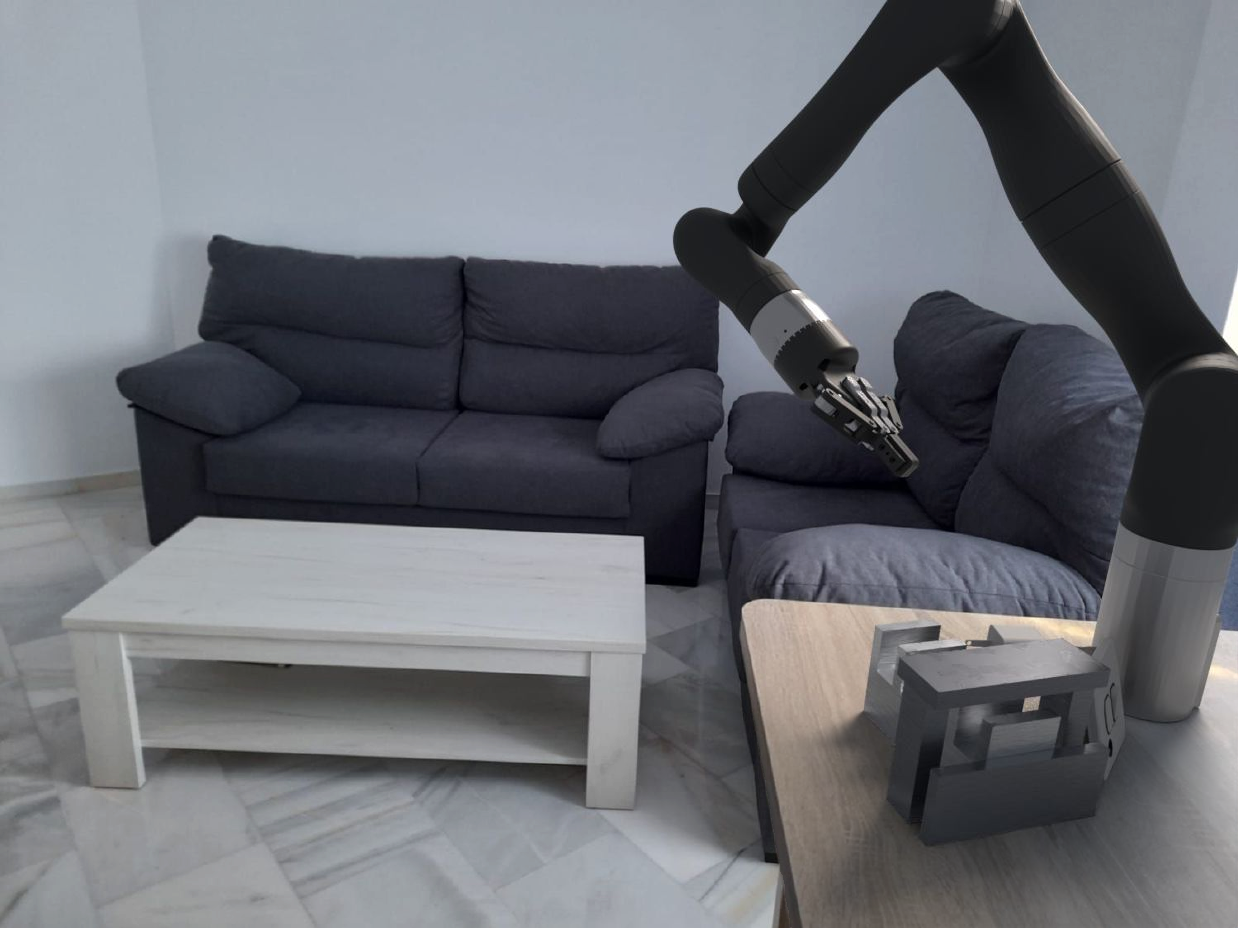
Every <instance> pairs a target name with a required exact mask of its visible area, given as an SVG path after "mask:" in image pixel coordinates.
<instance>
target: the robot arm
mask: <svg viewBox="0 0 1238 928" xmlns="http://www.w3.org/2000/svg"><path fill="white" fill-rule="evenodd" d="M1028 20H1029V19H1028V18H1027V16H1026V14H1025V11H1024V8H1023V7H1022V4H1021V3H1020V0H886V1H885V2H884V3H883V5H882V7H880V9H879V11H878V12H877V14H876V15H875V17H873V20H872V21H871V22H870V24H869V25H868V27H867V28H866V30H865V31H864V32H863V34H862V35H861V36H860V38H859V39H858V41H857V42H856V44H855V45H854V46H853V47H852V48H851V50H850V52H849V53H848V54H846V56H845V58H844V59H843V60H842V61H841V62H840V64H839V65H838V66H837V68H836V69H835V70H834V71H833V73H832V74H831V75H830V77H829V78H828V79H827V80H826V81H825V83H824V84H823V85H822V86H821V87H820V89H819V90H817V92H816V93H815V95H814V96H813V97H812V98H811V99H810V100H809V101H808V103H806V105H805V106H804V107H803V108H802V109H801V110H800V111H799V112H798V113H797V114H796V115H795V116H794V118H793V119H792V120H790V121H789V123H788V124H786V126H785V127H784V128H783V129H782V130H781V131H780V132H779V133H778V134H777V136H775V137H774V139H772V141H770V143H768V144H767V146H766V147H764V149H763V150H762V151H761V152H760V153H759V154H758V155H757V156H756V157H755V159H753V160H752V162H751V163H750V164H749V165H748V166H747V167H746V168H745V169H744V170H743V172H742V173H741V175H740V176H739V179H738V181H737V192H738V196H739V199H740V200H741V201H742V204H740V207H739V208H738V209H737V210H736V211H735V212H733V213H730V212H726V211H723V210H719V209H716V208H712V207H707V206H705V207H703V206H702V207H695V208H693V209H690V210H688V211H686V212H685V213H684V214H683V215H682V216H680V218H679V219H678V221H677V223H676V224H675V226H674V230H673V233H672V245H673V246H672V247H673V250H674V255H675V258H676V259H677V261H678V263H679V264H680V266H681V267H682V269H683V270H684V271H685V272H686V273H687V275H688V276H689V277H690V278H691V279H693V280H694V281H695V282H696V283H697V284H698V285H699V286H701V288H703V289H704V290H705V291H707V292H708V293H709V294H710V295H711V296H713V297H714V298H715V299H717V301H719V302H720V303H722V304H723V305H724V306H725V307H727V308H728V309H729V310H730V311H731V312H732V314H733V316H734V317H735V318H736V320H737V321H738V322H739V323H740V324H741V326H742V327H743V328H744V330H745V331H746V332H747V334H749V336H750V337H751V338H752V339H753V342H754V343H755V345H756V346H757V348H758V350H759V351H760V353H761V354H762V355H763V357H764V358H765V359H766V361H767V362H768V363H769V364H770V366H771V367H772V368H773V369H774V371H776V372H775V373H777V374H778V375H779V376H780V378H781V379H782V380H783V381H784V383H785V384H786V385H787V386H788V387H789V389H790V390H791V391H792V392H793V394H794V395H795V397H796V398H797V399H799V400H801V401H804V402H810V401H813V403H812V404H811V405H810V406H809V410H810V411H811V412H812V413H813V414H814V415H815V416H817V417H818V418H819V419H821V420H822V421H824V423H826V424H828V425H829V426H830V427H832V428H833V429H835V430H836V431H837V432H838V433H840V434H841V435H843V436H844V437H845V438H846V439H848V440H850V442H852V443H853V444H855V445H857V446H859V445H860V444H861V443H862V444H863V445H864V446H865V447H866V448H867V449H868V450H870V451H874V452H875V454H876V455H877V456H878V458H879V459H881V461H882V462H883V463H884V465H885V466H886V467H887V469H889V470H890V472H891V473H892V474H893V475H894V476H895V477H897V478H906V477H909V476H911V474H912V473H913V472H914V471H915V470H916V469H917V468H918V467H919V466H920V460H919V459H918V457H917V456H916V455H915V454H914V453H913V451H912V450H911V449H910V448H909V447H908V446H907V445H906V443H905V442H904V441H903V440H902V439H901V438H900V436H899V435H898V434H899V433H900V432H901V431H903V429H904V426H903V423H902V421H901V419H900V415H899V413H898V410H897V408H896V405H895V401H894V399H892V397H891V396H890V395H888V394H886V393H885V394H883V395H882V396H881V397H880V398H879V397H878V396H877V395H876V394H875V391H874V388H873V386H872V385H871V383H870V382H868V380H867V379H865V378H864V377H862V376H858V375H857V374H856V367H857V364H858V362H859V359H860V353H859V350H858V348H857V347H856V346H855V345H854V344H853V342H851V340H850V339H849V338H848V337H847V336H846V334H844V332H843V331H842V330H841V329H840V328H839V327H838V325H837V324H836V323H835V322H834V321H833V320H832V318H830V317H829V315H828V314H827V313H826V312H825V310H823V309H822V308H821V307H820V305H819V304H818V303H816V302H815V301H814V300H813V299H812V298H810V297H809V296H808V295H807V294H806V293H805V292H804V291H803V290H802V289H801V288H800V287H799V286H798V284H797V283H796V282H795V281H794V279H793V278H792V277H790V276H789V274H788V273H787V272H786V271H785V270H784V269H783V268H782V267H781V266H780V265H778V264H777V263H775V262H774V261H771V260H769V259H767V258H766V257H767V255H768V254H769V252H770V251H771V249H772V248H773V246H774V244H775V243H776V242H777V240H778V238H779V237H780V235H781V234H782V232H784V231H783V230H784V228H785V227H786V225H787V224H788V222H789V221H790V219H791V217H792V216H794V215H795V214H796V213H797V212H799V210H800V209H802V207H803V206H804V205H806V204H807V203H808V202H809V201H810V200H811V199H812V198H813V197H814V196H815V195H816V194H817V193H818V192H819V191H820V190H821V189H822V188H823V187H824V186H825V185H826V184H827V183H828V182H829V181H830V180H831V179H832V178H833V177H834V176H835V175H836V174H837V172H838V171H839V170H840V169H841V168H842V167H843V166H844V164H845V162H847V160H848V159H849V158H850V157H851V155H852V153H853V152H854V150H855V149H856V147H858V145H859V144H860V142H861V141H862V139H863V138H864V136H865V135H866V134H867V132H868V131H869V130H870V128H871V127H872V126H873V125H874V124H875V123H876V122H877V120H878V119H879V118H880V117H881V115H882V114H883V113H884V112H885V111H886V110H887V109H888V108H889V107H890V106H891V105H893V103H894V102H895V101H897V99H898V98H900V96H902V95H903V94H904V93H905V92H906V91H908V90H909V89H910V88H911V87H912V86H914V85H916V84H917V83H918V82H919V81H920V80H921V79H923V78H924V77H926V76H927V75H929V74H930V73H931V72H933V71H934V70H935V69H938V70H939V71H940V72H941V74H942V75H944V77H945V78H946V79H947V80H948V81H949V83H950V84H951V85H952V86H953V88H954V89H955V91H956V92H957V93H958V95H959V96H960V98H961V99H962V100H963V101H964V103H965V104H966V106H967V107H968V108H969V109H970V111H971V113H972V114H973V116H974V118H975V119H976V121H977V123H978V124H979V127H980V129H981V130H982V133H983V135H984V137H985V139H986V142H987V145H988V148H989V151H990V155H991V157H992V160H993V163H994V166H995V169H996V172H997V175H998V178H999V180H1000V183H1001V186H1002V188H1003V191H1004V192H1005V195H1006V198H1007V200H1008V202H1009V205H1010V206H1011V208H1012V210H1013V212H1014V214H1015V216H1016V218H1017V219H1018V221H1019V222H1020V224H1021V225H1022V228H1023V229H1024V230H1025V232H1026V234H1027V235H1028V237H1029V238H1030V240H1031V242H1032V243H1033V245H1034V247H1035V248H1036V250H1037V251H1038V253H1039V254H1040V257H1041V258H1042V259H1043V260H1044V262H1045V263H1046V264H1047V266H1048V267H1049V269H1050V270H1051V271H1052V272H1053V274H1054V275H1055V277H1056V278H1057V279H1058V280H1059V281H1060V282H1061V284H1062V285H1063V287H1065V289H1066V290H1067V291H1068V292H1069V294H1071V295H1072V297H1073V298H1074V299H1075V300H1076V301H1077V302H1078V304H1079V305H1081V307H1082V308H1083V309H1084V310H1085V311H1086V312H1087V313H1088V314H1089V315H1090V316H1091V318H1093V319H1094V320H1095V322H1096V323H1097V324H1098V325H1099V327H1100V328H1101V329H1102V330H1103V331H1104V333H1105V334H1106V336H1107V338H1108V339H1109V340H1110V342H1111V343H1112V345H1113V348H1115V350H1116V352H1117V354H1118V356H1119V358H1120V360H1121V362H1122V363H1123V366H1124V368H1125V370H1126V372H1127V374H1128V375H1129V378H1130V380H1131V382H1132V385H1133V386H1134V388H1135V391H1136V393H1137V396H1138V398H1139V401H1140V403H1141V406H1142V409H1143V413H1144V415H1143V419H1142V424H1141V429H1140V433H1139V439H1138V443H1137V446H1136V447H1137V448H1136V451H1135V455H1134V460H1133V465H1132V471H1131V474H1130V477H1129V483H1128V486H1127V487H1126V490H1125V491H1126V492H1125V494H1124V498H1123V501H1122V507H1121V511H1120V515H1119V521H1118V525H1117V529H1116V535H1115V537H1114V543H1113V548H1112V553H1111V557H1110V562H1109V566H1108V570H1107V575H1106V579H1105V584H1104V588H1103V593H1102V596H1101V597H1102V598H1101V602H1100V606H1099V609H1098V616H1097V620H1096V624H1095V629H1094V632H1093V637H1092V642H1091V645H1090V646H1091V647H1097V646H1098V645H1099V643H1100V641H1101V640H1102V638H1104V639H1111V640H1113V641H1114V644H1115V650H1116V657H1117V663H1118V670H1119V678H1120V686H1121V694H1122V702H1123V711H1124V715H1125V714H1126V715H1128V716H1131V717H1136V718H1137V719H1138V718H1139V719H1144V720H1148V721H1154V722H1162V723H1165V722H1172V723H1173V722H1176V721H1177V722H1178V721H1182V720H1185V719H1187V718H1189V716H1190V715H1191V713H1192V710H1193V709H1194V708H1198V707H1201V704H1202V699H1203V695H1204V692H1205V689H1206V686H1207V685H1206V684H1207V681H1208V677H1209V673H1210V670H1211V666H1212V662H1213V658H1214V656H1215V652H1216V651H1215V650H1216V648H1217V643H1218V640H1219V637H1220V633H1221V629H1222V625H1223V620H1224V619H1223V617H1222V615H1221V614H1220V613H1219V610H1220V607H1221V602H1222V599H1223V596H1224V591H1225V587H1226V584H1227V581H1228V576H1229V573H1230V568H1231V565H1232V561H1233V557H1234V553H1235V550H1236V546H1237V542H1238V354H1237V353H1236V352H1235V350H1234V349H1233V348H1232V347H1231V345H1230V344H1229V342H1227V341H1226V340H1225V338H1224V337H1223V336H1222V335H1221V334H1220V332H1219V330H1218V329H1216V327H1215V326H1214V324H1213V323H1212V322H1211V321H1210V319H1209V318H1208V317H1207V316H1206V314H1205V312H1204V311H1203V310H1202V309H1201V307H1200V306H1199V304H1198V303H1197V301H1196V300H1195V299H1194V297H1193V295H1192V294H1191V292H1190V290H1189V288H1188V286H1187V284H1186V283H1185V281H1184V279H1183V277H1182V274H1181V271H1180V269H1179V267H1178V264H1177V261H1176V259H1175V257H1174V254H1173V251H1172V250H1171V249H1172V248H1171V247H1170V245H1169V242H1168V240H1167V237H1166V236H1165V233H1164V231H1163V229H1162V227H1161V225H1160V222H1159V221H1158V218H1157V217H1156V214H1155V213H1154V212H1155V211H1153V208H1152V207H1151V205H1150V203H1149V201H1148V199H1147V197H1146V195H1145V194H1144V192H1143V191H1142V189H1141V187H1140V186H1139V184H1138V183H1137V181H1136V179H1135V178H1134V176H1133V175H1132V172H1130V170H1129V169H1128V167H1127V165H1126V163H1125V162H1124V161H1123V160H1122V157H1121V156H1120V154H1119V153H1118V152H1117V150H1116V149H1115V147H1114V146H1113V145H1112V143H1111V142H1110V141H1109V139H1108V138H1107V136H1106V134H1104V132H1103V131H1102V129H1101V128H1100V127H1099V126H1098V124H1097V122H1096V121H1095V120H1094V119H1093V118H1092V116H1091V115H1090V114H1089V112H1088V111H1087V110H1086V108H1085V107H1084V106H1083V105H1082V104H1081V102H1080V101H1079V100H1078V99H1077V98H1076V97H1075V96H1074V94H1073V93H1071V91H1070V89H1068V88H1067V86H1066V85H1065V84H1064V82H1063V81H1062V80H1061V79H1060V77H1059V76H1058V75H1057V73H1056V72H1055V70H1054V68H1053V67H1052V66H1051V64H1050V62H1049V60H1048V59H1047V57H1046V54H1045V52H1044V51H1043V49H1042V47H1041V45H1040V43H1039V40H1038V39H1037V37H1036V34H1035V32H1034V31H1033V29H1032V27H1031V25H1030V22H1029V21H1028Z"/></svg>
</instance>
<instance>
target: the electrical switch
mask: <svg viewBox="0 0 1238 928" xmlns="http://www.w3.org/2000/svg"><path fill="white" fill-rule="evenodd" d="M1075 646H1076V647H1077V648H1079V649H1080V650H1082V651H1083V652H1085V653H1086V654H1088V655H1090V656H1091V657H1093V658H1094V659H1096V660H1097V661H1099V662H1100V663H1102V664H1103V665H1105V666H1106V667H1108V668H1109V669H1111V672H1110V676H1109V680H1108V685H1107V687H1103V688H1096V689H1095V691H1094V695H1093V699H1092V704H1091V708H1090V713H1089V717H1088V722H1087V726H1086V730H1085V735H1084V739H1083V744H1089V743H1096V742H1101V743H1102V744H1104V745H1105V746H1106V747H1108V748H1109V749H1110V753H1109V757H1108V761H1107V765H1106V770H1105V774H1104V778H1103V782H1105V781H1106V782H1107V780H1108V777H1109V775H1110V773H1111V771H1112V768H1113V766H1114V763H1115V760H1116V758H1117V756H1118V754H1119V752H1120V748H1121V747H1122V745H1123V742H1124V739H1125V738H1126V723H1125V722H1126V721H1125V713H1124V711H1123V702H1122V694H1121V686H1120V678H1119V670H1118V663H1117V657H1116V650H1115V644H1114V641H1113V640H1111V639H1104V638H1102V640H1101V641H1100V643H1099V645H1098V646H1097V647H1091V645H1090V646H1087V645H1086V646H1077V645H1075ZM1083 744H1082V745H1083Z"/></svg>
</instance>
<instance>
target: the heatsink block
mask: <svg viewBox="0 0 1238 928" xmlns="http://www.w3.org/2000/svg"><path fill="white" fill-rule="evenodd" d="M941 628H942V624H941V623H939V622H938V621H937V620H935V619H934V618H929V619H928V618H927V619H919V620H910V621H908V620H907V621H900V622H892V623H881V624H874V631H873V639H872V647H871V653H870V661H869V666H868V667H869V668H868V673H867V674H868V675H867V682H866V689H865V696H864V697H865V698H864V702H863V703H864V704H863V712H864V713H865V714H866V715H867V716H868V718H869V719H870V720H871V721H874V722H873V723H874V724H875V723H876V724H875V725H876V726H877V727H878V728H879V729H880V728H881V729H880V730H881V731H882V732H883V733H884V734H885V735H886V736H887V738H888V739H889V740H890V741H891V742H892V743H893V744H894V745H895V738H896V731H897V725H898V718H899V712H900V705H901V699H902V692H903V685H904V681H903V680H902V679H901V678H900V677H899V676H898V675H897V670H898V663H899V657H905V656H913V655H922V654H930V653H939V652H947V651H956V650H964V649H968V646H967V644H968V643H967V644H965V641H963V640H961V639H960V638H959V637H956V638H948V639H940V635H941ZM1025 701H1026V698H1024V699H1017V700H1009V701H1002V702H995V703H988V704H981V705H973V706H966V707H959V708H952V709H950V710H949V716H948V722H947V728H946V734H945V739H944V745H943V751H942V757H941V763H940V767H944V766H950V765H957V764H963V763H969V762H976V761H982V760H988V759H995V758H1001V757H1007V756H1014V755H1020V754H1026V753H1032V752H1039V751H1045V750H1051V749H1054V747H1055V742H1056V738H1057V733H1058V729H1059V724H1060V719H1061V716H1059V715H1058V714H1057V713H1055V712H1054V711H1053V710H1051V709H1050V708H1046V709H1039V710H1038V709H1033V710H1025V711H1024V706H1025V705H1024V704H1025Z"/></svg>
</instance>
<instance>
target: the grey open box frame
mask: <svg viewBox="0 0 1238 928" xmlns="http://www.w3.org/2000/svg"><path fill="white" fill-rule="evenodd" d="M1076 646H1077V645H1075V644H1073V643H1071V642H1069V641H1068V640H1067V639H1065V638H1064V637H1060V638H1059V637H1058V638H1051V639H1050V638H1048V639H1046V640H1040V641H1032V642H1023V643H1015V644H1006V645H998V646H989V647H974V648H966V649H964V650H956V651H947V652H939V653H930V654H922V655H913V656H905V657H899V663H898V670H897V675H898V676H899V677H900V678H901V679H902V680H903V681H904V685H903V692H902V699H901V705H900V712H899V718H898V725H897V731H896V738H895V744H894V747H893V752H892V760H891V767H890V771H889V776H888V777H889V779H888V786H887V790H886V791H887V792H886V800H887V801H888V802H889V803H890V805H891V806H893V808H894V809H895V810H896V812H898V814H899V815H900V816H901V818H903V820H904V821H905V822H906V823H907V824H913V823H919V822H921V826H920V831H919V839H920V840H921V841H922V842H923V843H924V845H926V847H932V846H937V845H943V844H949V843H954V842H959V841H964V840H969V839H974V838H975V839H976V838H981V837H984V836H985V837H986V836H991V835H996V834H1002V833H1007V832H1013V831H1018V830H1024V829H1029V828H1035V827H1039V826H1046V825H1050V824H1055V823H1060V822H1061V823H1062V822H1067V821H1072V820H1077V819H1083V818H1089V817H1094V816H1095V815H1096V812H1097V808H1098V807H1097V806H1098V803H1099V798H1100V794H1101V790H1102V785H1103V782H1104V781H1103V778H1104V774H1105V770H1106V765H1107V761H1108V757H1109V753H1110V749H1109V748H1108V747H1106V746H1105V745H1104V744H1102V743H1101V742H1096V743H1089V744H1083V739H1084V735H1085V730H1086V726H1087V722H1088V717H1089V713H1090V708H1091V704H1092V699H1093V695H1094V691H1095V689H1096V688H1103V687H1107V685H1108V680H1109V676H1110V672H1111V669H1109V668H1108V667H1106V666H1105V665H1103V664H1102V663H1100V662H1099V661H1097V660H1096V659H1094V658H1093V657H1091V656H1090V655H1088V654H1086V653H1085V652H1083V651H1082V650H1080V649H1079V648H1077V647H1078V646H1077V647H1076ZM1037 697H1039V703H1038V707H1037V710H1039V709H1046V708H1050V709H1051V710H1053V711H1054V712H1055V713H1057V714H1058V715H1059V716H1061V719H1060V724H1059V729H1058V733H1057V738H1056V742H1055V747H1054V749H1051V750H1045V751H1039V752H1032V753H1026V754H1020V755H1014V756H1007V757H1001V758H995V759H988V760H982V761H976V762H969V763H963V764H957V765H950V766H944V767H940V763H941V757H942V751H943V745H944V739H945V734H946V728H947V722H948V716H949V710H950V709H952V708H959V707H966V706H973V705H981V704H988V703H995V702H1002V701H1009V700H1017V699H1024V698H1025V699H1030V698H1037ZM1082 744H1083V745H1082Z"/></svg>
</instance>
